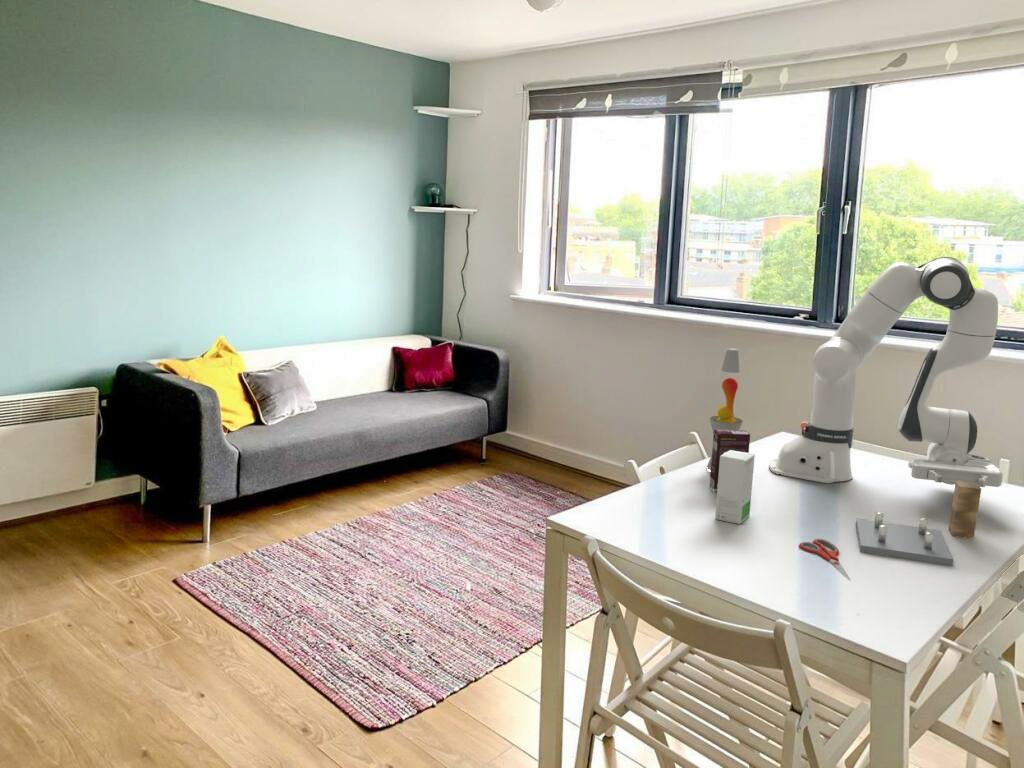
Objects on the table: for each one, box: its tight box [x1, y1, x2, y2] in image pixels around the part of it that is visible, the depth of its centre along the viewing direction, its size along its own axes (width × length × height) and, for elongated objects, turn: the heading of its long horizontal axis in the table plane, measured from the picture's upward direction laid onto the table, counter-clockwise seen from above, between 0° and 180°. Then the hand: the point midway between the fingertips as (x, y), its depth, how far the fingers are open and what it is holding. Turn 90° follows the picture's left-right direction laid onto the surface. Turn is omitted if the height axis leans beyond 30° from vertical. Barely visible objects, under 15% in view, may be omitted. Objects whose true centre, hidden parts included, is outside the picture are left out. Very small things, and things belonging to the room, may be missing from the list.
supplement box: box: [709, 429, 751, 492], centre depth 216 cm, size 9×5×16 cm, turn 92°
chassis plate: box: [855, 518, 954, 567], centre depth 184 cm, size 18×18×2 cm
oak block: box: [948, 481, 982, 539], centre depth 190 cm, size 4×4×12 cm
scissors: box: [798, 538, 852, 582], centre depth 172 cm, size 8×21×2 cm, turn 12°
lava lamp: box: [706, 348, 743, 470], centre depth 230 cm, size 9×9×35 cm
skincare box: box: [714, 450, 756, 525], centre depth 195 cm, size 8×7×16 cm
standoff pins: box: [874, 511, 934, 550], centre depth 183 cm, size 11×11×4 cm
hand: (960, 481), depth 201 cm, fingers open, 8 cm apart
